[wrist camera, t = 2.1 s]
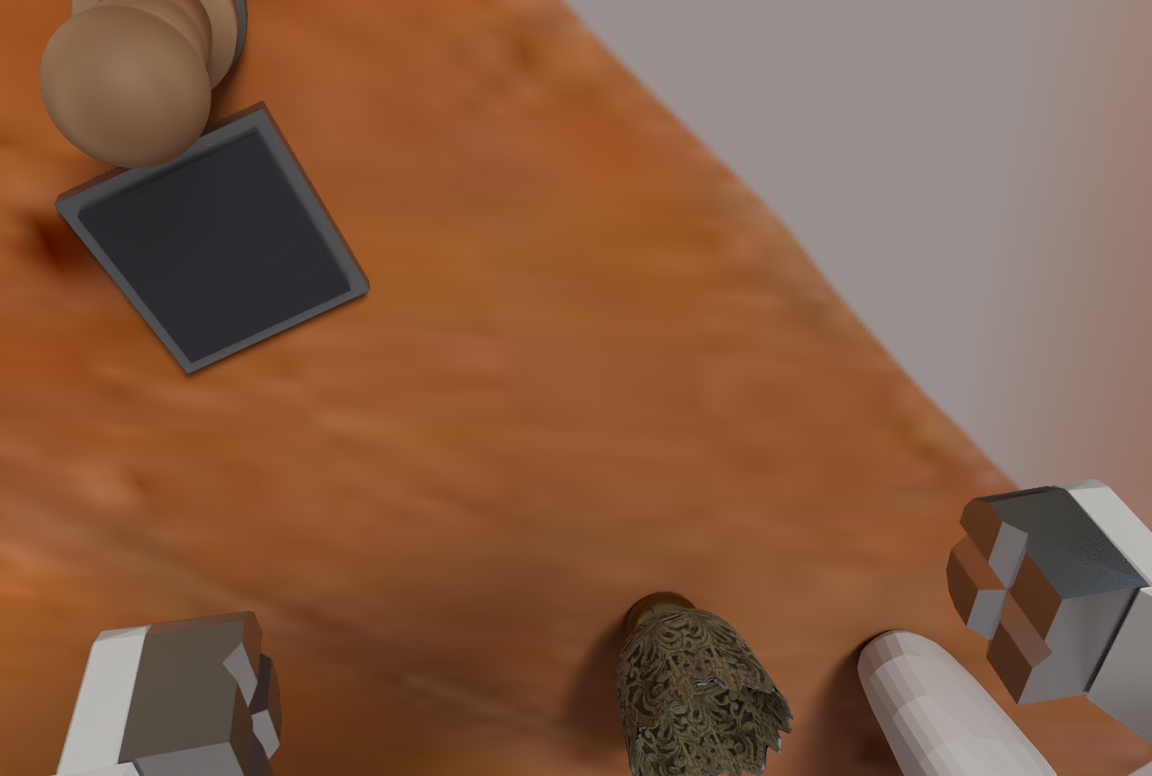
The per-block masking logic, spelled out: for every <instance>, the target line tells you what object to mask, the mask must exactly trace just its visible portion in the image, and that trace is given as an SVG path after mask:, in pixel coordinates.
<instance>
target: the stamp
mask: <svg viewBox="0 0 1152 776" xmlns="http://www.w3.org/2000/svg"><path fill="white" fill-rule="evenodd" d="M246 27H247V3H246V0H73V1H72V17H71V18H70V19H69V20H67V21H66V22H65V23H64V24H62V25H61V26H60V27H59V28H58V29H57V30H56V31H55V33H54V34H53V35H52V37H51V38H50V40H49V41H48V44H47V46H46V48H45V50H44V53H43V56H42V60H41V64H40V89H41V94H42V98H43V101H44V104H45V107H46V109H47V111H48V113H49V115H50V117H51V119H52V120H53V122H54V123H55V125H56V126H57V128H58V129H59V130H60V132H61V133H62V134H63V135H64V136H65V137H66V138H67V139H68V140H69V141H70V142H71V143H72V144H73V145H74V146H76V147H77V148H78V149H79V150H81V151H82V152H84V153H86V154H87V155H89V156H91V157H93V158H95V159H97V160H99V161H101V162H104V163H107V164H110V165H114V166H119V167H125V168H147V167H153V166H157V165H162V164H164V163H167V162H170V161H172V160H174V159H175V158H177V157H179V156H180V155H182V154H183V153H184V152H186V151H187V150H188V149H189V148H190V147H191V146H192V145H193V144H194V143H195V142H196V141H197V139H198V138H199V137H200V135H201V133H202V131H203V129H204V127H205V125H206V123H207V120H208V117H209V113H210V107H211V90H212V89H213V88H214V87H216V85H217V84H218V83H219V82H220V81H221V80H222V79H223V78H224V76H225V75H226V73H227V72H228V71H229V70H230V69H231V68H232V67H233V65H234V64H235V62H236V61H237V59H238V57H239V55H240V53H241V50H242V47H243V44H244V39H245V33H246Z"/></svg>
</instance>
